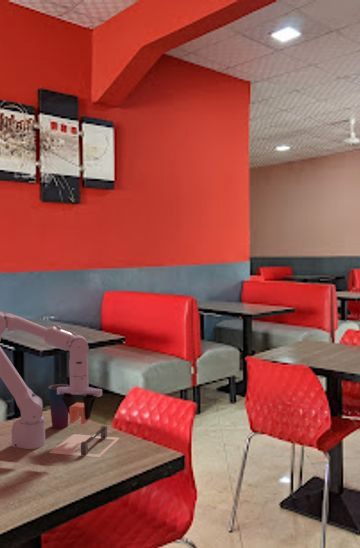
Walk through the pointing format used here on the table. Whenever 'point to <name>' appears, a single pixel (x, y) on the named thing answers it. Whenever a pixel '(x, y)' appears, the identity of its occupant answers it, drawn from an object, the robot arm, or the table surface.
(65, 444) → the pink flat square base
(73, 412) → the orange u-shaped block
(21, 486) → the table surface
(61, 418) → the cup
